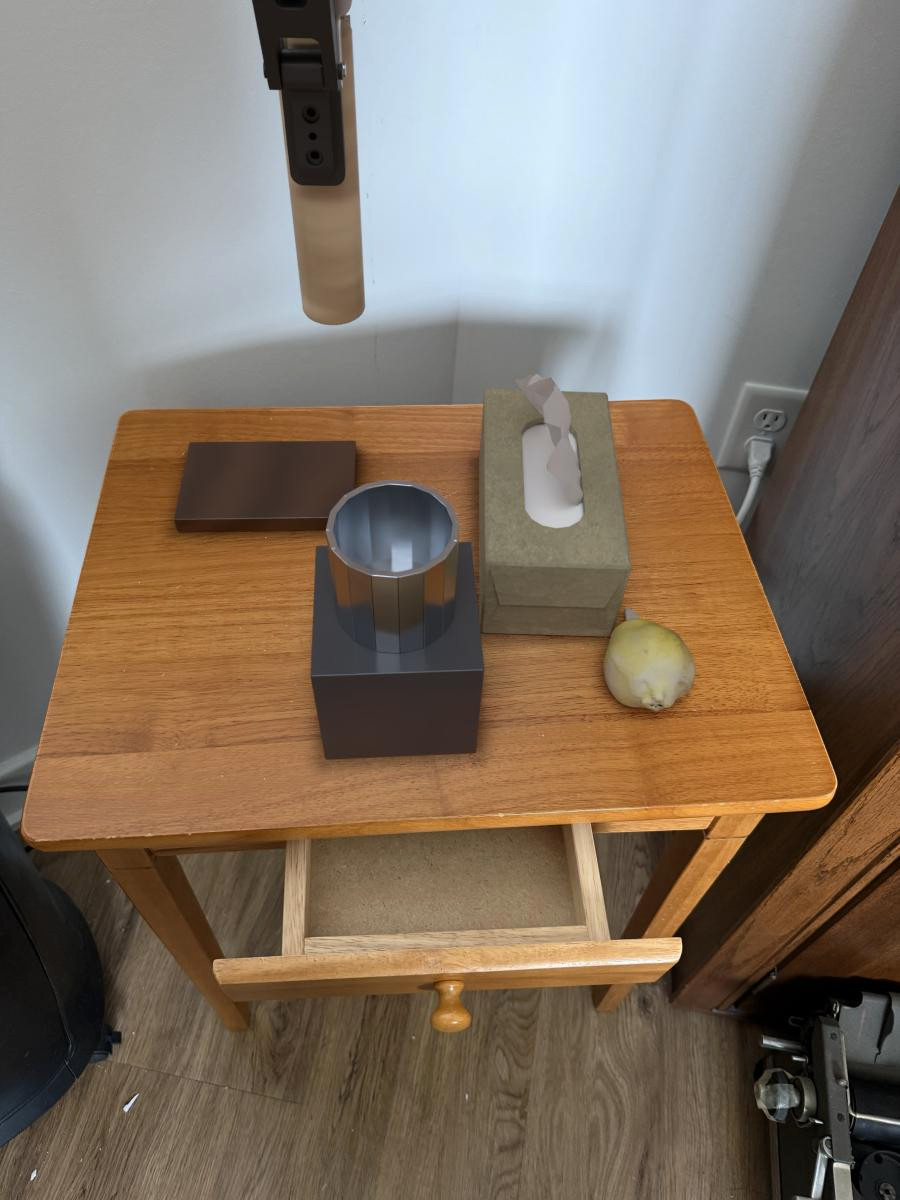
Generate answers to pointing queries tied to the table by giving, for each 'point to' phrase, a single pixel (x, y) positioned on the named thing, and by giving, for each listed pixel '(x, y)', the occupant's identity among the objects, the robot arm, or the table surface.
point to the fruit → (647, 664)
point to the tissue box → (549, 513)
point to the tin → (393, 564)
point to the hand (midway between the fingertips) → (321, 158)
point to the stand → (397, 680)
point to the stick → (331, 218)
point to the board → (263, 485)
